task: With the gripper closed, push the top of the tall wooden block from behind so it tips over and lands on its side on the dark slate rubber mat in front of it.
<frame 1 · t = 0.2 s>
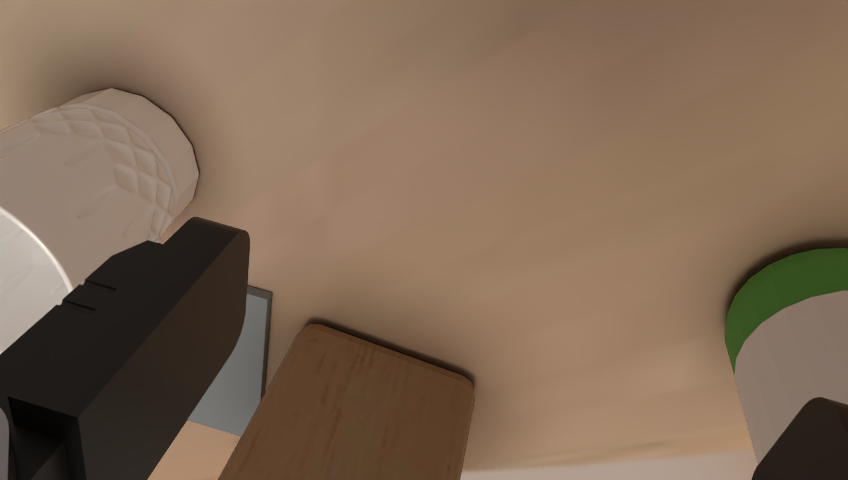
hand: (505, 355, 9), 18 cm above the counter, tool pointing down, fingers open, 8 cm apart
slate rubber mat: (169, 340, 38), on the counter
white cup: (136, 153, 31), on the counter
wooden block: (374, 398, 37), on the counter
wine bottle: (814, 308, 28), on the counter
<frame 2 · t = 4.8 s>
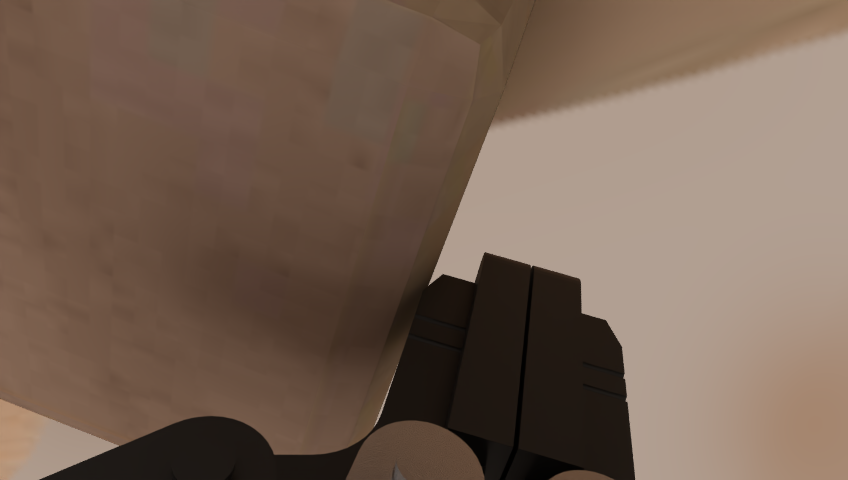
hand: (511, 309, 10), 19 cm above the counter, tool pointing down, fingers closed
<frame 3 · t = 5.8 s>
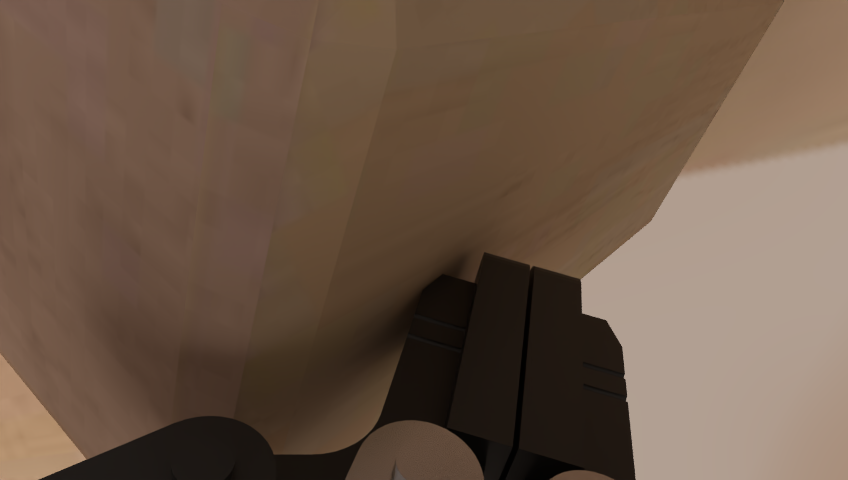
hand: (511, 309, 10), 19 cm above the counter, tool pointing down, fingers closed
wooden block: (594, 53, 24), point 2 cm above the counter
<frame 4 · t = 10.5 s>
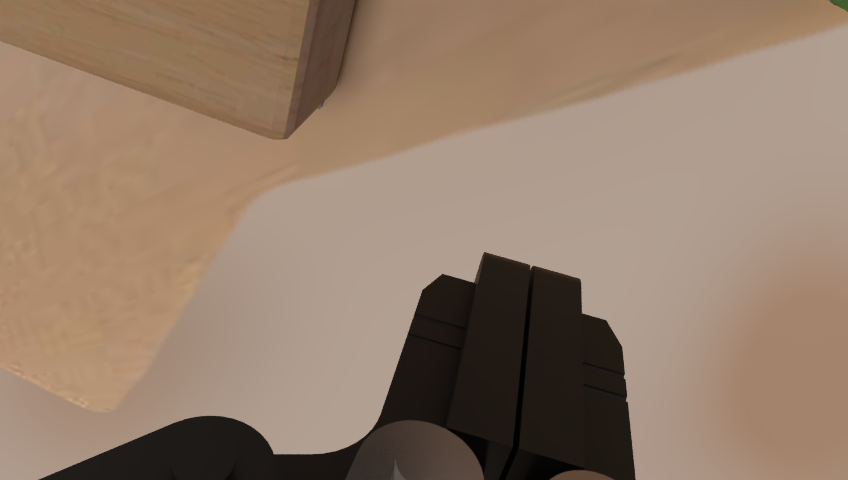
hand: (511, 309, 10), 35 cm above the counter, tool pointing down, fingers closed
wooden block: (332, 48, 39), point 6 cm above the counter, touching slate rubber mat
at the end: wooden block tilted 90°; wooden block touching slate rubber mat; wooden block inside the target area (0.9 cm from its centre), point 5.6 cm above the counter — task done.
